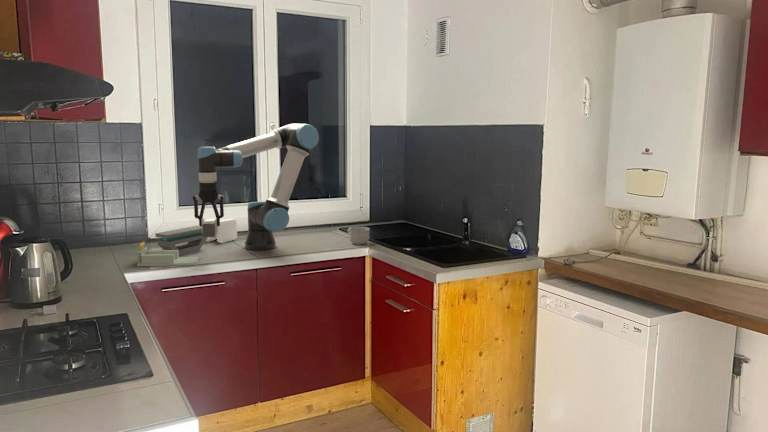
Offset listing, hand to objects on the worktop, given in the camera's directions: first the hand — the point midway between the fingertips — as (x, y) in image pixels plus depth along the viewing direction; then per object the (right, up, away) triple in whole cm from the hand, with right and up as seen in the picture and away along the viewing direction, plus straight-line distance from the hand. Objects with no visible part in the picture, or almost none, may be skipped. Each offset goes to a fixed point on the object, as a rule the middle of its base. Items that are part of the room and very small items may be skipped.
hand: (210, 233), depth 269 cm
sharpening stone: (-17, -10, +16) cm, 25 cm away
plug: (0, -1, 0) cm, 1 cm away
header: (-17, -13, -4) cm, 21 cm away
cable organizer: (-7, -6, +44) cm, 45 cm away
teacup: (+64, -7, +44) cm, 78 cm away
